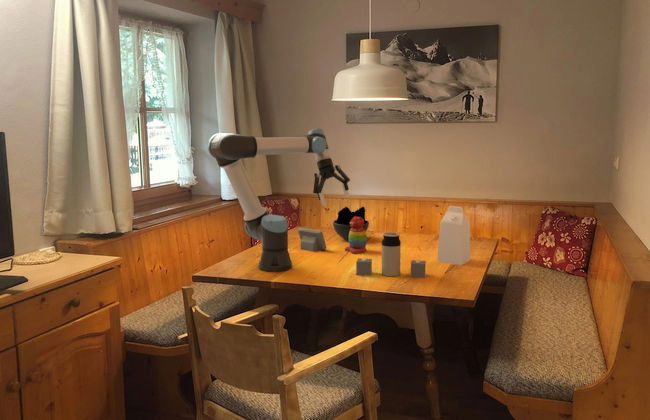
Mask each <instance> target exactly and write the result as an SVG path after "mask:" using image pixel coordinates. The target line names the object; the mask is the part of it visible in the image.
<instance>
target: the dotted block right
mask: <svg viewBox="0 0 650 420" xmlns="http://www.w3.org/2000/svg"><path fill="white" fill-rule="evenodd" d="M426 266H427V265H426V260H419V259H418V260H415V259H414V260H411V261H410V278H424V279H425V278H426Z"/></svg>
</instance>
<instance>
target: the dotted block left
mask: <svg viewBox="0 0 650 420" xmlns="http://www.w3.org/2000/svg"><path fill="white" fill-rule="evenodd" d="M355 263H356V264H355V265H356V267H355V268H356V269H355V270H356V271H355V272H356V273H355V274H356V276H371V275H372V272H373V269H372V268H373V267H372V266H373V259H372V258H359V257H358V258H357V259H356V262H355Z"/></svg>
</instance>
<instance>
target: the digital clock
mask: <svg viewBox="0 0 650 420" xmlns="http://www.w3.org/2000/svg"><path fill="white" fill-rule="evenodd" d="M297 229H298V230H297V232H298V235H299V238H300V250H303V251H307V252H317V251H326V250H327V244H326V240H325V237H324V233H323V231H322V230H317V229H309V228H303V227H299V228H297Z"/></svg>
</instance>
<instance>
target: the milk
mask: <svg viewBox="0 0 650 420" xmlns="http://www.w3.org/2000/svg"><path fill="white" fill-rule="evenodd" d="M470 229H471V223H470V220H469V217H467V215H466V214H465V212H464V209H463V207H462V206H456V205H455V206H453V205H449V206H448V208H447V210H446V212H445V214H444V215H443V216H442V219H441V220H440V224H439V234H438V244H437V245H438V246H437V258H436V259H437V260H436V263H442V264H443V263H444V264H451V265H459V266H462V265H464V264H466V263H469V261H471V230H470Z"/></svg>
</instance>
